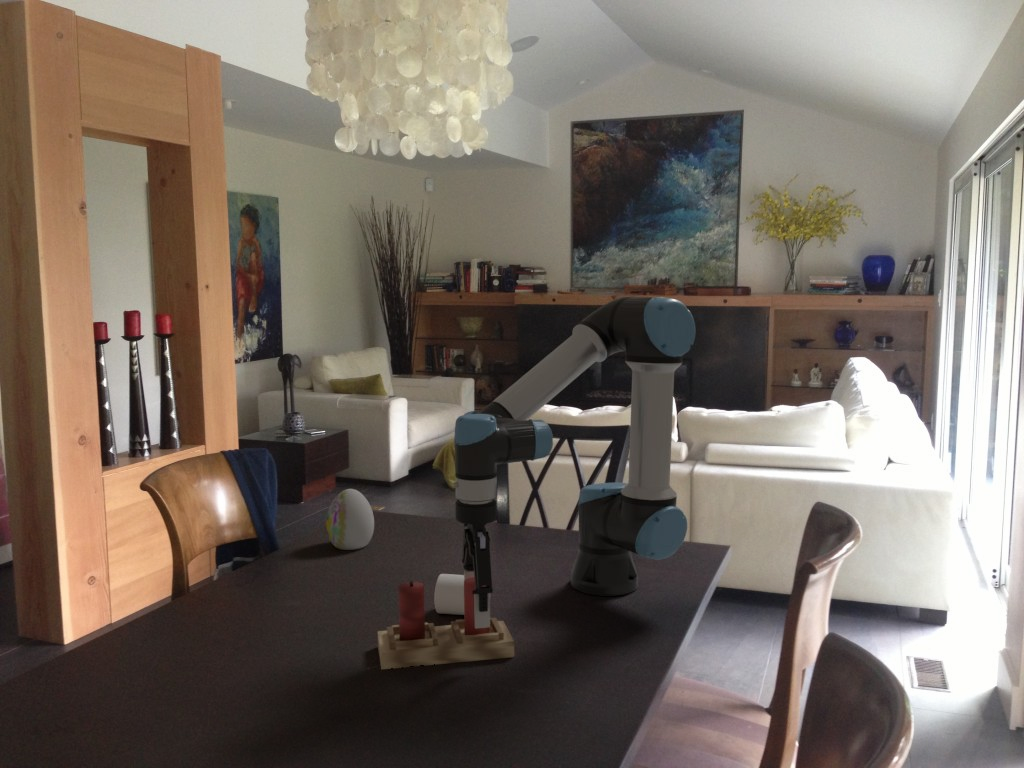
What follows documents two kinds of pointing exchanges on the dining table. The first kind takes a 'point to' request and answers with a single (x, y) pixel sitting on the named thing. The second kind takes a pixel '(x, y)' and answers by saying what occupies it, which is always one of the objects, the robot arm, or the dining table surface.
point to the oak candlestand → (436, 637)
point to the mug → (449, 594)
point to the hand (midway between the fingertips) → (476, 615)
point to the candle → (470, 609)
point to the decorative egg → (350, 521)
